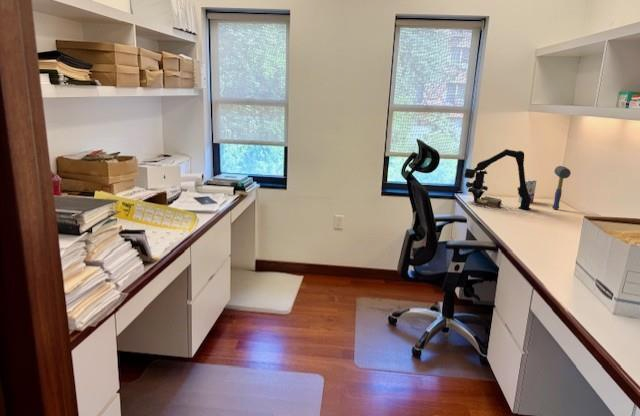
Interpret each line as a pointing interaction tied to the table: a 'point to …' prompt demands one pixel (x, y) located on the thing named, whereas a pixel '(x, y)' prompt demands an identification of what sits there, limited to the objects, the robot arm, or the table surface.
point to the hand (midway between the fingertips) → (476, 200)
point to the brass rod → (482, 201)
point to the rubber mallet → (560, 184)
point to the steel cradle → (488, 198)
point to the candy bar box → (530, 189)
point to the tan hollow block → (494, 203)
